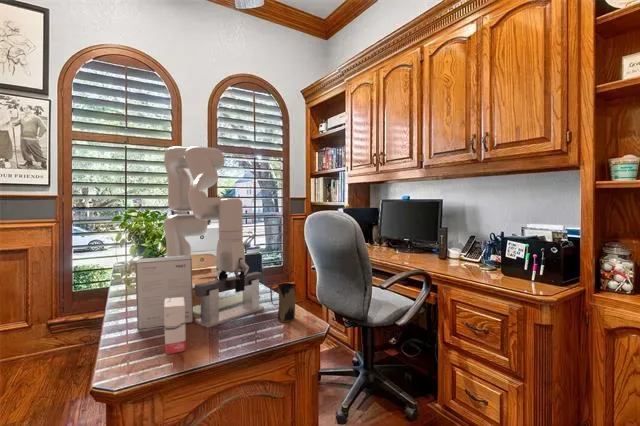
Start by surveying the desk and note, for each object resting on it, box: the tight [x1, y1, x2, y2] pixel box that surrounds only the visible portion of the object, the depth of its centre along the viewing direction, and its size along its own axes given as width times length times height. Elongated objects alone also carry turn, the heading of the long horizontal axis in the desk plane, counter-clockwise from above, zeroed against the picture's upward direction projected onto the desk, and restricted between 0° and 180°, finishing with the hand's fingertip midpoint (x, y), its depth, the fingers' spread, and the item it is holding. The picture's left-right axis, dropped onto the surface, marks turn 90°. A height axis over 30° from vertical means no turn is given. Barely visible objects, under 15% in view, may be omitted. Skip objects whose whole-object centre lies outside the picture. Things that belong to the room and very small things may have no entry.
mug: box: [269, 282, 296, 323], centre depth 103 cm, size 8×6×12 cm
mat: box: [193, 292, 261, 316], centre depth 120 cm, size 8×26×1 cm, turn 141°
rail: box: [194, 271, 263, 298], centre depth 107 cm, size 3×24×3 cm, turn 141°
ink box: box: [163, 297, 187, 355], centre depth 85 cm, size 9×5×12 cm, turn 24°
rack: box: [194, 279, 265, 329], centre depth 107 cm, size 7×22×11 cm, turn 141°
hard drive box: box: [134, 254, 194, 330], centre depth 101 cm, size 16×8×20 cm, turn 111°
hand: (231, 288), depth 107 cm, fingers open, 8 cm apart
